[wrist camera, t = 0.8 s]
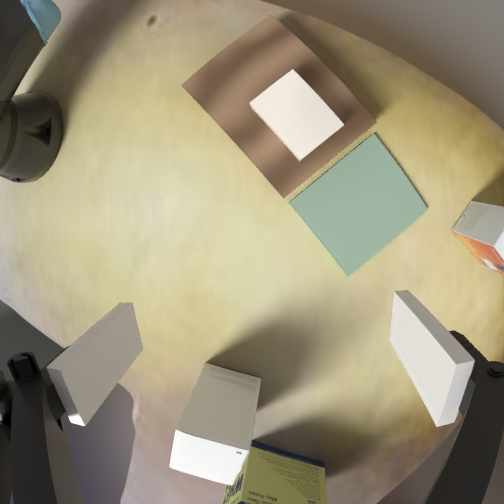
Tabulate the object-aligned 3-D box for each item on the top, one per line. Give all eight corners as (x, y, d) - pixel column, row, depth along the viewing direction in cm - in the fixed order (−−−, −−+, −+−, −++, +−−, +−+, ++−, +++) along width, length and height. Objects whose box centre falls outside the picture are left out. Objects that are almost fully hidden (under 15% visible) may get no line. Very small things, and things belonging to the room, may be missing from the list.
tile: (251, 108, 32) (249, 103, 30) (292, 76, 31) (292, 69, 29) (299, 161, 33) (300, 160, 31) (340, 128, 32) (344, 124, 30)
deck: (190, 93, 36) (181, 85, 32) (272, 28, 33) (271, 14, 29) (283, 196, 38) (283, 198, 34) (368, 127, 35) (376, 122, 31)
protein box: (249, 439, 48) (237, 509, 33) (325, 461, 48) (331, 527, 33) (227, 467, 50) (213, 529, 35) (298, 487, 50) (297, 547, 35)
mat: (288, 202, 38) (289, 203, 38) (373, 133, 35) (374, 133, 35) (347, 275, 40) (347, 276, 39) (426, 208, 37) (427, 209, 36)
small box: (449, 230, 37) (492, 246, 27) (470, 199, 35) (515, 207, 25) (479, 264, 37) (520, 286, 27) (498, 235, 36) (542, 251, 26)
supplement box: (204, 360, 45) (174, 427, 30) (262, 377, 44) (252, 450, 30) (194, 402, 47) (167, 468, 32) (246, 417, 47) (233, 487, 32)
